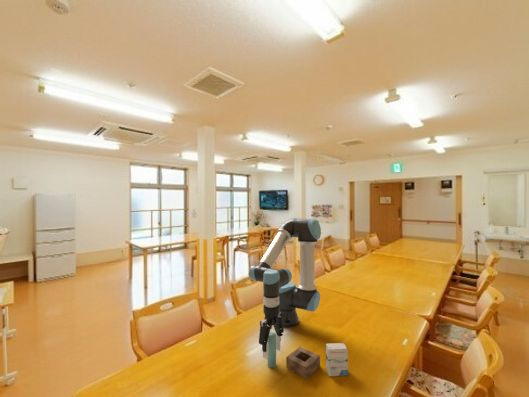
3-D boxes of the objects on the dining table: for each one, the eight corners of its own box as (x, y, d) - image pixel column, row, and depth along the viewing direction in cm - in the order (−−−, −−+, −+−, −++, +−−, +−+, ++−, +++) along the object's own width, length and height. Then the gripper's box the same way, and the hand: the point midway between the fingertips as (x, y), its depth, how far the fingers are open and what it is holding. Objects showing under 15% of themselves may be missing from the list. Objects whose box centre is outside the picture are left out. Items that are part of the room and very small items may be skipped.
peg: (265, 365, 118) (265, 334, 118) (271, 360, 121) (271, 331, 121) (272, 368, 115) (272, 337, 115) (277, 364, 118) (277, 334, 118)
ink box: (344, 368, 115) (344, 342, 115) (348, 376, 110) (348, 348, 110) (325, 368, 115) (325, 342, 115) (328, 376, 110) (328, 349, 110)
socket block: (286, 368, 116) (286, 357, 116) (299, 356, 124) (299, 346, 124) (307, 379, 108) (307, 367, 108) (320, 366, 117) (319, 355, 117)
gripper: (262, 314, 108) (262, 368, 108) (291, 299, 124) (291, 346, 124) (249, 309, 113) (250, 360, 113) (279, 296, 129) (279, 341, 129)
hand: (271, 353), depth 118 cm, fingers open, 8 cm apart
